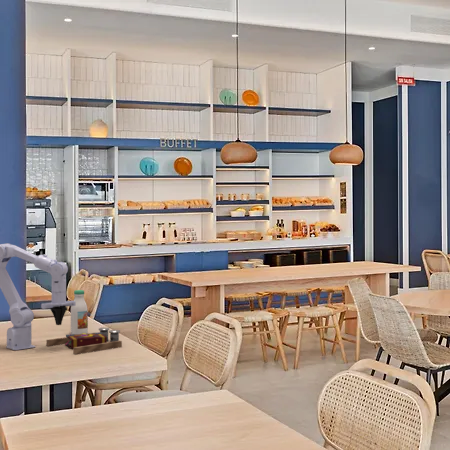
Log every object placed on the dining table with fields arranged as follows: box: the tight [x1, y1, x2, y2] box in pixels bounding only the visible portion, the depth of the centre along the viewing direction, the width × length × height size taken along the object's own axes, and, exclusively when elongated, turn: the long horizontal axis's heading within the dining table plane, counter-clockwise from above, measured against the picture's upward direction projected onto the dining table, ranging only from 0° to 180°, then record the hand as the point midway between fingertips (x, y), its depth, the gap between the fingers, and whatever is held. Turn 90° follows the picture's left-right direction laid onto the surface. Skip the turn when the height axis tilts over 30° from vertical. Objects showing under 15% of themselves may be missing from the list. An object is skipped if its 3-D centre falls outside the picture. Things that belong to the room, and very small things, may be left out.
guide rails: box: [46, 336, 123, 355], centre depth 282 cm, size 22×23×2 cm
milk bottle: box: [70, 289, 89, 335], centre depth 311 cm, size 8×8×20 cm
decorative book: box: [64, 331, 107, 350], centre depth 284 cm, size 11×16×5 cm
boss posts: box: [98, 326, 121, 342], centre depth 290 cm, size 5×13×6 cm, turn 43°
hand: (58, 324), depth 277 cm, fingers closed
